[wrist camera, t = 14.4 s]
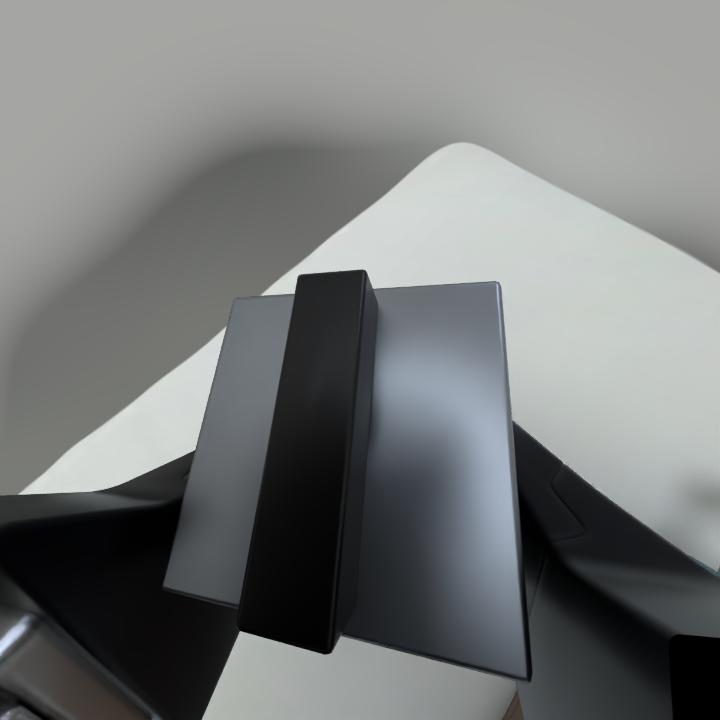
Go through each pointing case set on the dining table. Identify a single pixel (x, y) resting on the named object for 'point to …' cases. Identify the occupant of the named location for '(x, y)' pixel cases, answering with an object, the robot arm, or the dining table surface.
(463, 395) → the grey box with handle
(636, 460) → the dining table surface
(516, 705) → the cabinet
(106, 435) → the dining table surface
